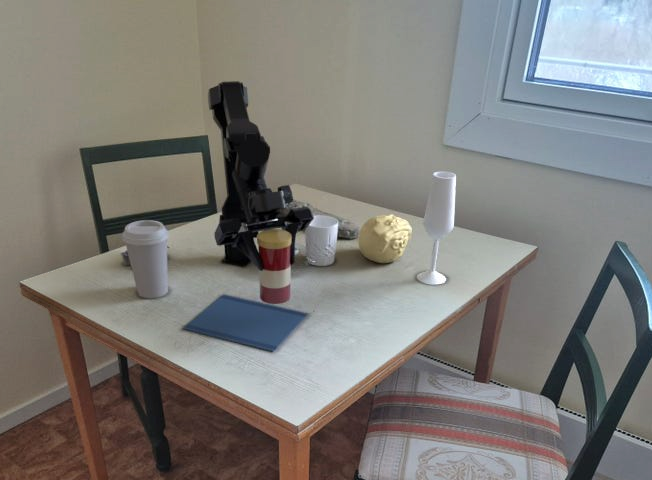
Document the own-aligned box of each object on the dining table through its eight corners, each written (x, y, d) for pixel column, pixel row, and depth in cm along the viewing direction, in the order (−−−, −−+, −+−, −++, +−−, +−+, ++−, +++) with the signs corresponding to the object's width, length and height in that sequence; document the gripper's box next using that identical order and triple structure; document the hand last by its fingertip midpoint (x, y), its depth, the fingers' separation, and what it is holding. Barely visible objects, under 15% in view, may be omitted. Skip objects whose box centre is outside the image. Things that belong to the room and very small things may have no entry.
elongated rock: (344, 249, 165) (368, 240, 172) (347, 229, 162) (370, 221, 169) (249, 209, 183) (274, 202, 190) (250, 191, 180) (275, 185, 187)
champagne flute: (440, 287, 145) (455, 181, 131) (412, 280, 147) (423, 176, 134) (450, 275, 149) (465, 173, 136) (422, 269, 152) (434, 168, 139)
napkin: (183, 329, 128) (183, 327, 128) (223, 295, 140) (223, 294, 140) (273, 351, 121) (273, 350, 121) (307, 314, 133) (307, 313, 133)
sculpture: (383, 272, 151) (387, 228, 145) (348, 256, 158) (350, 214, 152) (415, 259, 157) (420, 217, 151) (379, 244, 165) (383, 203, 159)
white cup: (333, 268, 152) (335, 228, 147) (301, 265, 153) (301, 225, 148) (339, 255, 159) (340, 216, 153) (307, 252, 160) (308, 214, 154)
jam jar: (253, 300, 125) (251, 238, 118) (267, 286, 130) (266, 226, 123) (283, 307, 123) (282, 244, 116) (296, 293, 128) (297, 232, 120)
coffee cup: (182, 286, 144) (176, 222, 136) (161, 304, 136) (152, 238, 128) (145, 279, 146) (136, 216, 138) (122, 297, 139) (111, 232, 131)
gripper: (215, 177, 112) (241, 259, 110) (310, 164, 119) (336, 241, 117) (204, 206, 123) (227, 282, 121) (292, 193, 130) (315, 264, 128)
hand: (277, 267), depth 121 cm, fingers closed on jam jar, 6 cm apart
